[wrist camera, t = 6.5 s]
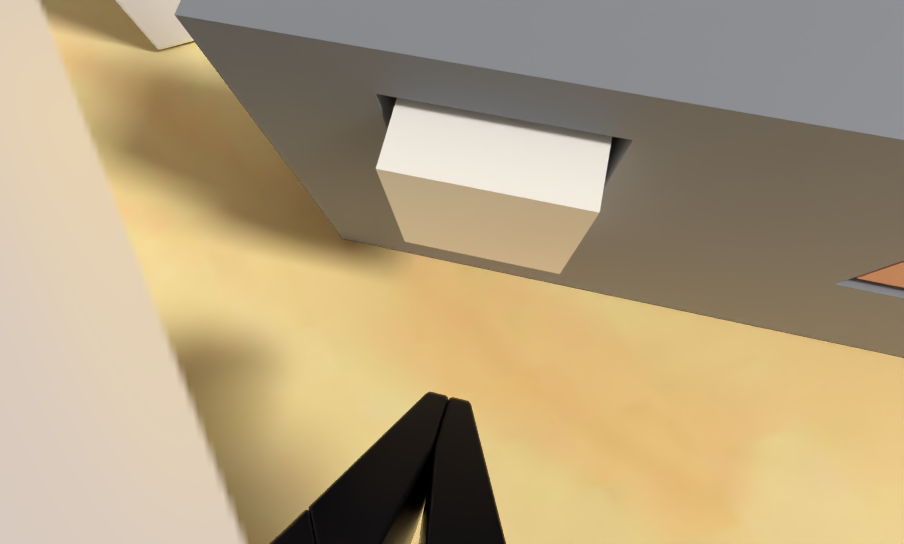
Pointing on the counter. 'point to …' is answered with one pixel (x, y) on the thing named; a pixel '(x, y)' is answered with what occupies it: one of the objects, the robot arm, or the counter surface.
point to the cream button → (492, 183)
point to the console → (621, 134)
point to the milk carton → (157, 21)
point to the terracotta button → (887, 275)
